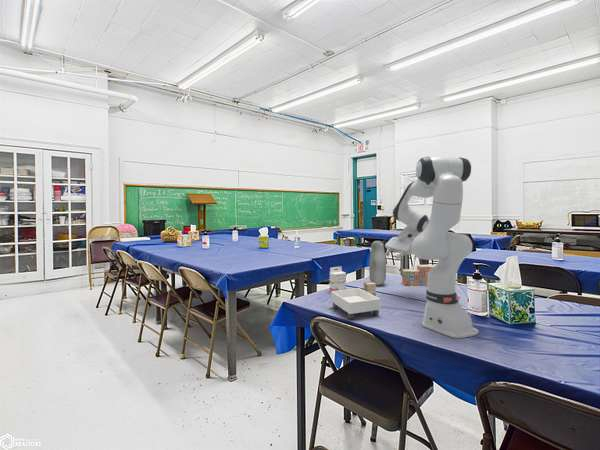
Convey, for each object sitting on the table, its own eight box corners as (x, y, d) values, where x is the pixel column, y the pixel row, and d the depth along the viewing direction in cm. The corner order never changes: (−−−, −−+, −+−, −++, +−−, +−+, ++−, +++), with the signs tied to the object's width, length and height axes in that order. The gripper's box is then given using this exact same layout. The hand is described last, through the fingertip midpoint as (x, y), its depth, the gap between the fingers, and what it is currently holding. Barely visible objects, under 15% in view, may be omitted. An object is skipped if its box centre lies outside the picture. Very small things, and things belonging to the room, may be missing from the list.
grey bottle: (370, 282, 213) (370, 239, 211) (387, 283, 209) (387, 240, 207) (367, 286, 204) (367, 241, 202) (384, 287, 200) (384, 242, 198)
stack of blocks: (404, 286, 203) (404, 266, 202) (402, 283, 209) (402, 264, 208) (439, 286, 201) (440, 266, 200) (436, 283, 207) (437, 264, 206)
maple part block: (375, 302, 172) (375, 283, 172) (368, 303, 171) (368, 284, 170) (371, 299, 177) (371, 281, 176) (363, 300, 175) (363, 282, 174)
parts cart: (380, 316, 152) (380, 298, 151) (349, 321, 147) (349, 303, 146) (359, 303, 171) (359, 288, 170) (331, 307, 165) (330, 291, 165)
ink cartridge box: (333, 294, 188) (333, 269, 187) (329, 292, 192) (329, 267, 191) (346, 292, 192) (346, 267, 190) (341, 290, 196) (341, 265, 195)
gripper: (392, 232, 188) (377, 250, 185) (415, 236, 169) (399, 256, 166) (398, 239, 190) (383, 257, 187) (422, 244, 170) (406, 264, 168)
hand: (391, 257), depth 177 cm, fingers open, 8 cm apart
